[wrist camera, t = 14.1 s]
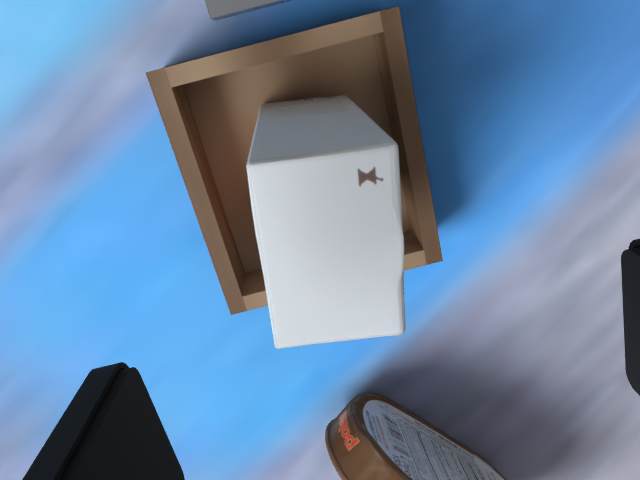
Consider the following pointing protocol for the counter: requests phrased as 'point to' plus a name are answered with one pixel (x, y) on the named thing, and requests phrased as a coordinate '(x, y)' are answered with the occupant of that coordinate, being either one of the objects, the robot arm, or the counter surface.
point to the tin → (397, 446)
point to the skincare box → (327, 221)
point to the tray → (278, 86)
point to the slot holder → (236, 7)
